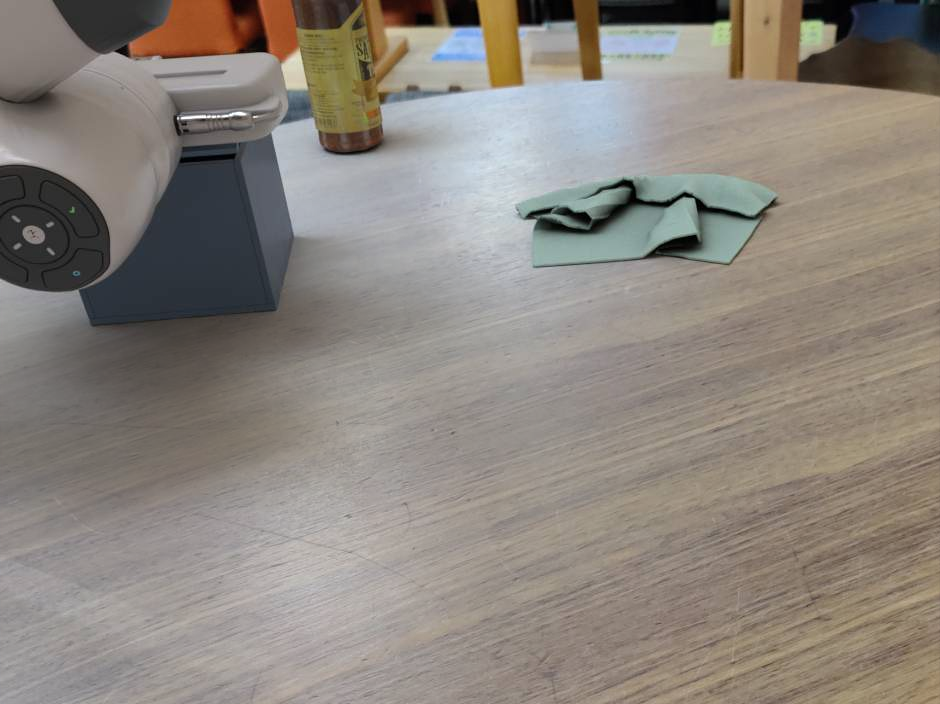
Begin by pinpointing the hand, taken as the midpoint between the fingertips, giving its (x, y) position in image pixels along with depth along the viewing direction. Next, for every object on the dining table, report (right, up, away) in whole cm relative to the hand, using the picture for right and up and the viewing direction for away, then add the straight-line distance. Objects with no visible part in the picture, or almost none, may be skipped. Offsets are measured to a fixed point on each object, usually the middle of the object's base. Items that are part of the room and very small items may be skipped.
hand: (143, 69), depth 82 cm
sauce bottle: (+7, +8, +32) cm, 33 cm away
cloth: (+34, -6, +15) cm, 37 cm away
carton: (+1, -12, +9) cm, 15 cm away
